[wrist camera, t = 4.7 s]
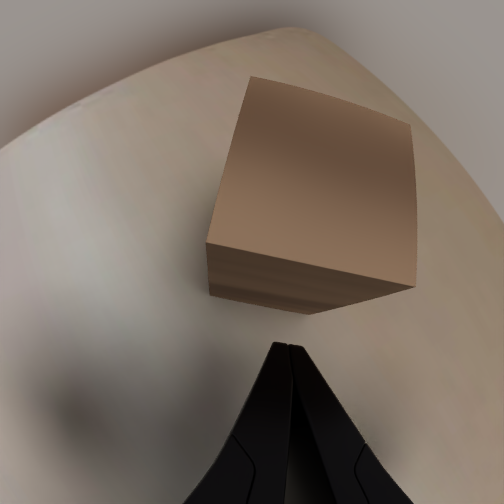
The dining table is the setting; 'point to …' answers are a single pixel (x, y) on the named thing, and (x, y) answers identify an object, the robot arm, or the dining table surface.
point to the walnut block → (313, 204)
